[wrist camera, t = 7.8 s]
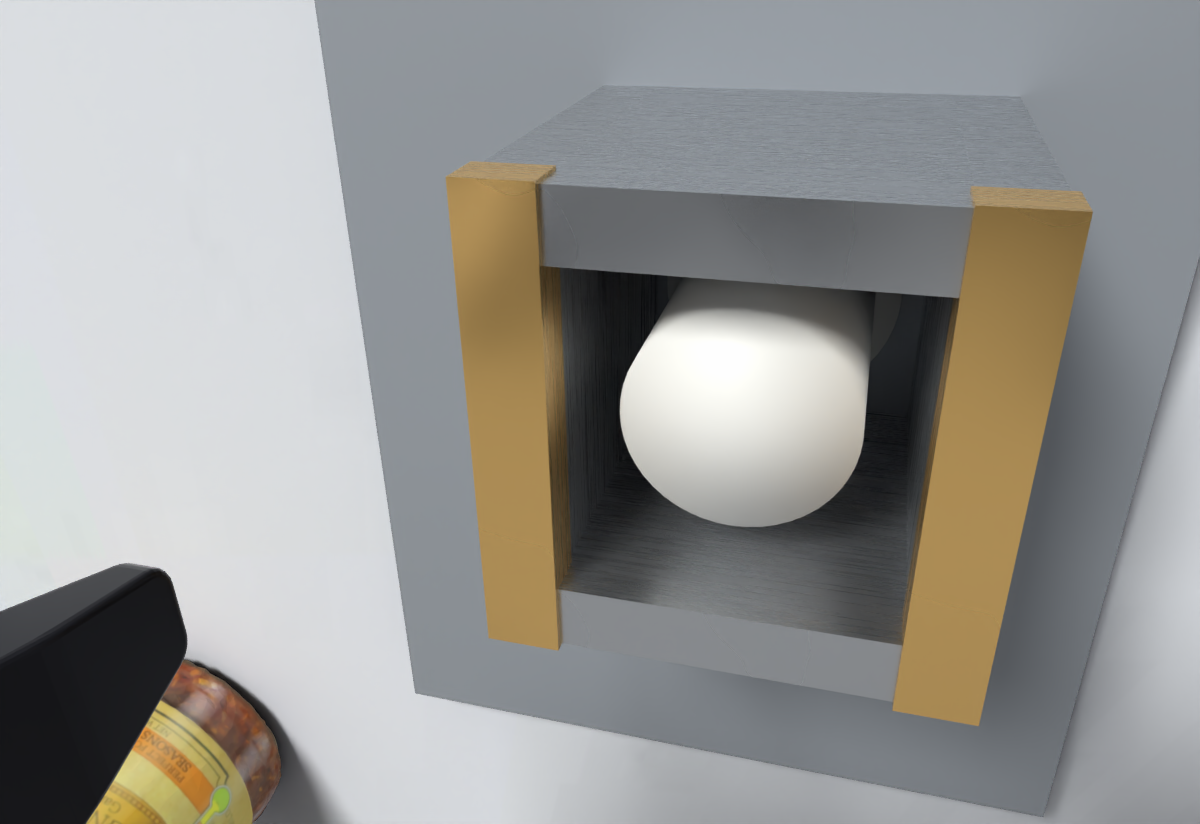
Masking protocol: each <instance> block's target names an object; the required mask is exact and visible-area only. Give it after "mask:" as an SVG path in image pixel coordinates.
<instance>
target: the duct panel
mask: <svg viewBox="0 0 1200 824" xmlns="http://www.w3.org/2000/svg"><path fill="white" fill-rule="evenodd" d="M315 7H316V14H317V21H318V28H319V35H320V42H321V48H322V55H323V62H324V69H325V76H326V83H327V90H328V97H329V103H330V110H331V117H332V124H333V131H334V138H335V145H336V152H337V158H338V165H339V172H340V179H341V186H342V193H343V200H344V207H345V213H346V220H347V227H348V234H349V241H350V248H351V255H352V262H353V268H354V275H355V282H356V289H357V296H358V303H359V310H360V317H361V323H362V330H363V337H364V344H365V351H366V358H367V365H368V371H369V378H370V385H371V392H372V399H373V406H374V413H375V420H376V426H377V433H378V440H379V447H380V454H381V461H382V468H383V475H384V481H385V488H386V495H387V502H388V509H389V516H390V523H391V530H392V536H393V543H394V550H395V557H396V564H397V571H398V578H399V585H400V591H401V598H402V605H403V612H404V619H405V626H406V633H407V640H408V646H409V653H410V660H411V667H412V674H413V681H414V688H415V693H417V694H422V695H427V696H432V697H437V698H442V699H447V700H452V701H457V702H462V703H468V704H473V705H478V706H483V707H488V708H493V709H498V710H503V711H508V712H513V713H518V714H523V715H528V716H533V717H538V718H544V719H549V720H554V721H559V722H564V723H569V724H574V725H579V726H584V727H589V728H594V729H599V730H604V731H609V732H614V733H619V734H625V735H630V736H635V737H640V738H645V739H650V740H655V741H660V742H665V743H670V744H675V745H680V746H685V747H690V748H695V749H701V750H706V751H711V752H716V753H721V754H726V755H731V756H736V757H741V758H746V759H751V760H756V761H761V762H766V763H771V764H777V765H782V766H787V767H792V768H797V769H802V770H807V771H812V772H817V773H822V774H827V775H832V776H837V777H842V778H847V779H853V780H858V781H863V782H868V783H873V784H878V785H883V786H888V787H893V788H898V789H903V790H908V791H913V792H918V793H923V794H929V795H934V796H939V797H944V798H949V799H954V800H959V801H964V802H969V803H974V804H979V805H984V806H989V807H994V808H999V809H1005V810H1010V811H1015V812H1020V813H1025V814H1030V815H1035V816H1040V817H1044V813H1045V809H1046V806H1047V802H1048V799H1049V795H1050V791H1051V788H1052V784H1053V781H1054V777H1055V774H1056V770H1057V766H1058V763H1059V759H1060V756H1061V752H1062V748H1063V745H1064V741H1065V738H1066V734H1067V730H1068V727H1069V723H1070V720H1071V716H1072V713H1073V709H1074V705H1075V702H1076V698H1077V695H1078V691H1079V687H1080V684H1081V680H1082V677H1083V673H1084V670H1085V666H1086V662H1087V659H1088V655H1089V652H1090V648H1091V644H1092V641H1093V637H1094V634H1095V630H1096V627H1097V623H1098V619H1099V616H1100V612H1101V609H1102V605H1103V601H1104V598H1105V594H1106V591H1107V587H1108V583H1109V580H1110V576H1111V573H1112V569H1113V566H1114V562H1115V558H1116V555H1117V551H1118V548H1119V544H1120V540H1121V537H1122V533H1123V530H1124V526H1125V523H1126V519H1127V515H1128V512H1129V508H1130V505H1131V501H1132V497H1133V494H1134V490H1135V487H1136V483H1137V480H1138V476H1139V472H1140V469H1141V465H1142V462H1143V458H1144V454H1145V451H1146V447H1147V444H1148V440H1149V436H1150V433H1151V429H1152V426H1153V422H1154V419H1155V415H1156V411H1157V408H1158V404H1159V401H1160V397H1161V393H1162V390H1163V386H1164V383H1165V379H1166V376H1167V372H1168V368H1169V365H1170V361H1171V358H1172V354H1173V350H1174V347H1175V343H1176V340H1177V336H1178V333H1179V329H1180V325H1181V322H1182V318H1183V315H1184V311H1185V307H1186V304H1187V300H1188V297H1189V293H1190V289H1191V286H1192V282H1193V279H1194V275H1195V272H1196V268H1197V264H1198V261H1199V257H1200V0H315ZM603 85H619V86H655V87H692V88H728V89H764V90H800V91H836V92H873V93H909V94H945V95H981V96H1017V97H1021V99H1022V101H1023V103H1024V105H1025V106H1026V108H1027V110H1028V112H1029V114H1030V116H1031V117H1032V119H1033V121H1034V123H1035V125H1036V127H1037V128H1038V130H1039V132H1040V134H1041V136H1042V138H1043V139H1044V141H1045V143H1046V145H1047V147H1048V149H1049V150H1050V152H1051V154H1052V156H1053V158H1054V159H1055V161H1056V163H1057V165H1058V167H1059V169H1060V170H1061V172H1062V174H1063V176H1064V178H1065V180H1066V181H1067V183H1068V185H1069V187H1070V189H1071V191H1081V192H1082V193H1083V195H1084V197H1085V199H1086V200H1087V202H1088V204H1089V206H1090V207H1091V209H1092V211H1093V214H1092V219H1091V223H1090V228H1089V232H1088V237H1087V241H1086V246H1085V250H1084V255H1083V259H1082V264H1081V268H1080V273H1079V277H1078V282H1077V286H1076V291H1075V295H1074V300H1073V304H1072V309H1071V313H1070V318H1069V322H1068V327H1067V331H1066V336H1065V340H1064V345H1063V349H1062V354H1061V358H1060V363H1059V367H1058V372H1057V376H1056V381H1055V385H1054V390H1053V394H1052V399H1051V403H1050V408H1049V412H1048V417H1047V421H1046V426H1045V430H1044V435H1043V439H1042V444H1041V448H1040V453H1039V457H1038V462H1037V466H1036V471H1035V475H1034V480H1033V484H1032V489H1031V493H1030V498H1029V502H1028V507H1027V511H1026V516H1025V520H1024V525H1023V529H1022V534H1021V538H1020V543H1019V547H1018V552H1017V556H1016V561H1015V565H1014V570H1013V574H1012V579H1011V583H1010V588H1009V592H1008V597H1007V601H1006V606H1005V610H1004V615H1003V619H1002V624H1001V628H1000V633H999V637H998V642H997V646H996V651H995V655H994V660H993V664H992V669H991V673H990V678H989V682H988V687H987V691H986V696H985V700H984V705H983V709H982V714H981V718H980V723H979V726H975V725H969V724H963V723H958V722H952V721H947V720H941V719H936V718H930V717H924V716H919V715H913V714H908V713H902V712H897V711H892V703H893V702H891V701H885V700H879V699H874V698H868V697H862V696H857V695H851V694H845V693H840V692H834V691H829V690H823V689H817V688H812V687H806V686H800V685H795V684H789V683H783V682H778V681H772V680H767V679H761V678H755V677H750V676H744V675H738V674H733V673H727V672H721V671H716V670H710V669H705V668H699V667H693V666H688V665H682V664H676V663H671V662H665V661H659V660H654V659H648V658H642V657H637V656H631V655H626V654H620V653H614V652H609V651H603V650H597V649H592V648H586V647H580V646H575V645H569V644H564V643H562V644H561V646H560V649H559V651H557V650H551V649H546V648H540V647H535V646H529V645H524V644H518V643H512V642H507V641H501V640H496V639H490V638H489V637H488V627H487V616H486V605H485V595H484V584H483V573H482V562H481V552H480V541H479V530H478V520H477V509H476V498H475V487H474V477H473V466H472V455H471V445H470V434H469V423H468V413H467V402H466V391H465V380H464V370H463V359H462V348H461V338H460V327H459V316H458V306H457V295H456V284H455V273H454V263H453V252H452V241H451V231H450V220H449V209H448V199H447V188H446V176H447V175H449V174H451V173H452V172H454V171H456V170H457V169H459V168H460V167H462V166H464V165H465V164H467V163H469V162H470V161H477V162H482V161H484V160H485V159H487V158H489V157H490V156H492V155H493V154H495V153H497V152H498V151H500V150H501V149H503V148H505V147H506V146H508V145H509V144H511V143H513V142H514V141H516V140H517V139H519V138H520V137H522V136H524V135H525V134H527V133H528V132H530V131H532V130H533V129H535V128H536V127H538V126H540V125H541V124H543V123H544V122H546V121H548V120H549V119H551V118H552V117H554V116H555V115H557V114H559V113H560V112H562V111H563V110H565V109H567V108H568V107H570V106H571V105H573V104H575V103H576V102H578V101H579V100H581V99H583V98H584V97H586V96H587V95H589V94H590V93H592V92H594V91H595V90H597V89H598V88H600V87H602V86H603ZM924 298H925V295H912V294H899V293H885V292H872V291H859V290H846V289H833V288H820V287H807V286H794V285H781V284H768V283H755V282H742V281H729V280H716V279H703V278H690V277H677V276H664V275H657V322H656V324H655V326H654V327H653V329H652V331H651V332H650V334H649V336H648V338H647V339H646V341H645V343H644V344H643V346H642V348H641V349H640V351H639V353H638V355H637V356H636V358H635V360H634V362H633V363H632V365H631V367H630V369H629V371H628V373H627V376H626V378H625V381H624V384H623V388H622V393H621V399H620V420H621V428H622V432H623V436H624V440H625V443H626V445H627V448H628V451H629V453H630V455H631V457H632V459H633V460H634V462H635V464H636V466H637V467H638V469H639V470H640V471H641V473H642V474H643V476H644V477H645V478H646V479H647V480H648V481H649V483H650V484H651V485H652V486H653V487H654V488H655V489H656V490H657V491H659V492H660V493H661V494H662V495H663V496H664V497H665V498H667V499H668V500H670V501H671V502H672V503H674V504H675V505H677V506H679V507H680V508H682V509H684V510H686V511H687V512H689V513H692V514H694V515H696V516H699V517H701V518H703V519H707V520H710V521H713V522H716V523H721V524H726V525H731V526H741V527H764V526H771V525H778V524H782V523H786V522H789V521H793V520H795V519H798V518H800V517H803V516H806V515H807V514H809V513H811V512H813V511H815V510H816V509H818V508H820V507H821V506H822V505H824V504H825V503H826V502H828V501H829V500H830V499H831V498H833V497H834V496H835V495H836V494H837V493H838V492H839V491H840V490H841V488H842V487H843V486H844V484H845V483H846V482H847V481H848V479H849V478H850V476H851V474H852V472H853V470H854V469H855V467H856V464H857V462H858V459H859V456H860V454H861V449H862V444H863V439H864V429H865V417H866V411H869V412H879V413H888V414H897V415H908V408H909V401H910V394H911V387H912V380H913V373H914V367H915V360H916V353H917V346H918V339H919V332H920V325H921V319H922V312H923V305H924Z"/></svg>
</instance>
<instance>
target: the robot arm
mask: <svg viewBox="0 0 1200 824" xmlns="http://www.w3.org/2000/svg"><path fill="white" fill-rule="evenodd" d="M186 649H187V633H186V629H185V626H184V622H183V618H182V615H181V611H180V608H179V604H178V601H177V597H176V593H175V590H174V586H173V583H172V580H171V578H170V577H169V575H168V574H167V573H166V572H165V571H163V570H161V569H159V568H155V567H149V566H143V565H137V564H130V563H125V564H119V565H116V566H113V567H111V568H108V569H106V570H103V571H101V572H98V573H96V574H93V575H91V576H88V577H85V578H83V579H80V580H78V581H75V582H73V583H70V584H68V585H65V586H63V587H60V588H58V589H55V590H53V591H50V592H48V593H45V594H43V595H40V596H38V597H35V598H33V599H30V600H28V601H25V602H23V603H20V604H18V605H15V606H13V607H10V608H8V609H5V610H3V611H0V824H86V823H87V822H88V820H89V819H90V817H91V816H92V814H93V813H94V811H95V810H96V808H97V807H98V805H99V804H100V802H101V800H102V799H103V797H104V796H105V794H106V792H107V791H108V789H109V787H110V786H111V784H112V783H113V781H114V779H115V777H116V776H117V774H118V772H119V771H120V769H121V767H122V765H123V764H124V762H125V760H126V759H127V757H128V755H129V753H130V752H131V750H132V748H133V747H134V745H135V743H136V741H137V740H138V738H139V736H140V735H141V733H142V731H143V729H144V728H145V726H146V724H147V723H148V721H149V719H150V717H151V716H152V714H153V712H154V711H155V709H156V707H157V705H158V704H159V702H160V700H161V698H162V697H163V695H164V693H165V692H166V690H167V688H168V686H169V685H170V683H171V681H172V680H173V678H174V676H175V674H176V673H177V671H178V669H179V668H180V666H181V664H182V662H183V660H184V657H185V654H186Z"/></svg>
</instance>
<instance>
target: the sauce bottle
mask: <svg viewBox="0 0 1200 824" xmlns="http://www.w3.org/2000/svg"><path fill="white" fill-rule="evenodd" d="M280 769H281V759H280V755H279V752H278V746H277V742H276V739H275V737H274V735H273V733H272V731H271V730H270V728H269V727H268V726H267V725H266V723H265V720H263V719H262V718H261V717H260V716H259V715H258V713H257V712H256V711H255V709H254V708H253V707H252V706H251V704H250V703H249V702H247V701H246V700H245V699H244V698H242V696H241V695H240V694H239V693H238V692H237V691H235V690H234V689H233V688H232V687H231V686H230V685H228V684H227V683H226V682H225V681H224V680H222V679H220V678H218V677H216V676H214V675H212V674H210V673H209V672H208V670H207V669H205V668H202V667H198V666H196V665H195V664H193V663H192V662H191V661H188V660H183V662H182V664H181V666H180V668H179V669H178V671H177V673H176V674H175V676H174V678H173V680H172V681H171V683H170V685H169V686H168V688H167V690H166V692H165V693H164V695H163V697H162V698H161V700H160V702H159V704H158V705H157V707H156V709H155V711H154V712H153V714H152V716H151V717H150V719H149V721H148V723H147V724H146V726H145V728H144V729H143V731H142V733H141V735H140V736H139V738H138V740H137V741H136V743H135V745H134V747H133V748H132V750H131V752H130V753H129V755H128V757H127V759H126V760H125V762H124V764H123V765H122V767H121V769H120V771H119V772H118V774H117V776H116V777H115V779H114V781H113V783H112V784H111V786H110V787H109V789H108V791H107V792H106V794H105V796H104V797H103V799H102V800H101V802H100V804H99V805H98V807H97V808H96V810H95V811H94V813H93V814H92V816H91V817H90V819H89V820H88V822H87V823H86V824H252V823H253V822H254V821H256V819H257V818H258V817H259V816H260V815H261V814H262V813H263V811H264V809H265V808H266V805H267V804H268V802H269V801H270V800H271V798H272V795H273V794H274V792H275V789H276V787H277V786H278V784H279V781H280V778H281V771H280Z"/></svg>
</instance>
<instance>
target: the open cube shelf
mask: <svg viewBox="0 0 1200 824" xmlns="http://www.w3.org/2000/svg"><path fill="white" fill-rule="evenodd" d="M446 188H447V199H448V209H449V220H450V231H451V241H452V252H453V263H454V273H455V284H456V295H457V306H458V316H459V327H460V338H461V348H462V359H463V370H464V380H465V391H466V402H467V413H468V423H469V434H470V445H471V455H472V466H473V477H474V487H475V498H476V509H477V520H478V530H479V541H480V552H481V562H482V573H483V584H484V595H485V605H486V616H487V627H488V637H489V638H490V639H496V640H501V641H507V642H512V643H518V644H524V645H529V646H535V647H540V648H546V649H551V650H557V651H559V649H560V646H561V644H562V643H564V644H569V645H575V646H580V647H586V648H592V649H597V650H603V651H609V652H614V653H620V654H626V655H631V656H637V657H642V658H648V659H654V660H659V661H665V662H671V663H676V664H682V665H688V666H693V667H699V668H705V669H710V670H716V671H721V672H727V673H733V674H738V675H744V676H750V677H755V678H761V679H767V680H772V681H778V682H783V683H789V684H795V685H800V686H806V687H812V688H817V689H823V690H829V691H834V692H840V693H845V694H851V695H857V696H862V697H868V698H874V699H879V700H885V701H891V702H893V703H892V711H897V712H902V713H908V714H913V715H919V716H924V717H930V718H936V719H941V720H947V721H952V722H958V723H963V724H969V725H975V726H979V723H980V718H981V714H982V709H983V705H984V700H985V696H986V691H987V687H988V682H989V678H990V673H991V669H992V664H993V660H994V655H995V651H996V646H997V642H998V637H999V633H1000V628H1001V624H1002V619H1003V615H1004V610H1005V606H1006V601H1007V597H1008V592H1009V588H1010V583H1011V579H1012V574H1013V570H1014V565H1015V561H1016V556H1017V552H1018V547H1019V543H1020V538H1021V534H1022V529H1023V525H1024V520H1025V516H1026V511H1027V507H1028V502H1029V498H1030V493H1031V489H1032V484H1033V480H1034V475H1035V471H1036V466H1037V462H1038V457H1039V453H1040V448H1041V444H1042V439H1043V435H1044V430H1045V426H1046V421H1047V417H1048V412H1049V408H1050V403H1051V399H1052V394H1053V390H1054V385H1055V381H1056V376H1057V372H1058V367H1059V363H1060V358H1061V354H1062V349H1063V345H1064V340H1065V336H1066V331H1067V327H1068V322H1069V318H1070V313H1071V309H1072V304H1073V300H1074V295H1075V291H1076V286H1077V282H1078V277H1079V273H1080V268H1081V264H1082V259H1083V255H1084V250H1085V246H1086V241H1087V237H1088V232H1089V228H1090V223H1091V219H1092V214H1093V211H1092V209H1091V207H1090V206H1089V204H1088V202H1087V200H1086V199H1085V197H1084V195H1083V193H1082V192H1081V191H1071V189H1070V187H1069V185H1068V183H1067V181H1066V180H1065V178H1064V176H1063V174H1062V172H1061V170H1060V169H1059V167H1058V165H1057V163H1056V161H1055V159H1054V158H1053V156H1052V154H1051V152H1050V150H1049V149H1048V147H1047V145H1046V143H1045V141H1044V139H1043V138H1042V136H1041V134H1040V132H1039V130H1038V128H1037V127H1036V125H1035V123H1034V121H1033V119H1032V117H1031V116H1030V114H1029V112H1028V110H1027V108H1026V106H1025V105H1024V103H1023V101H1022V99H1021V97H1017V96H981V95H945V94H909V93H873V92H836V91H800V90H764V89H728V88H692V87H655V86H619V85H603V86H602V87H600V88H598V89H597V90H595V91H594V92H592V93H590V94H589V95H587V96H586V97H584V98H583V99H581V100H579V101H578V102H576V103H575V104H573V105H571V106H570V107H568V108H567V109H565V110H563V111H562V112H560V113H559V114H557V115H555V116H554V117H552V118H551V119H549V120H548V121H546V122H544V123H543V124H541V125H540V126H538V127H536V128H535V129H533V130H532V131H530V132H528V133H527V134H525V135H524V136H522V137H520V138H519V139H517V140H516V141H514V142H513V143H511V144H509V145H508V146H506V147H505V148H503V149H501V150H500V151H498V152H497V153H495V154H493V155H492V156H490V157H489V158H487V159H485V160H484V161H482V162H477V161H470V162H469V163H467V164H465V165H464V166H462V167H460V168H459V169H457V170H456V171H454V172H452V173H451V174H449V175H447V176H446ZM657 275H664V276H677V277H690V278H703V279H716V280H729V281H742V282H755V283H768V284H781V285H794V286H807V287H820V288H833V289H846V290H859V291H872V292H885V293H899V294H912V295H925V298H924V305H923V312H922V319H921V325H920V332H919V339H918V346H917V353H916V360H915V367H914V373H913V380H912V387H911V394H910V401H909V408H908V415H897V414H888V413H879V412H869V411H866V417H865V429H864V439H863V444H862V449H861V454H860V456H859V459H858V462H857V464H856V467H855V469H854V470H853V472H852V474H851V476H850V478H849V479H848V481H847V482H846V483H845V484H844V486H843V487H842V488H841V490H840V491H839V492H838V493H837V494H836V495H835V496H834V497H833V498H831V499H830V500H829V501H828V502H826V503H825V504H824V505H822V506H821V507H820V508H818V509H816V510H815V511H813V512H811V513H809V514H807V515H806V516H803V517H800V518H798V519H795V520H793V521H789V522H786V523H782V524H778V525H771V526H764V527H741V526H731V525H726V524H721V523H716V522H713V521H710V520H707V519H703V518H701V517H699V516H696V515H694V514H692V513H689V512H687V511H686V510H684V509H682V508H680V507H679V506H677V505H675V504H674V503H672V502H671V501H670V500H668V499H667V498H665V497H664V496H663V495H662V494H661V493H660V492H659V491H657V490H656V489H655V488H654V487H653V486H652V485H651V484H650V483H649V481H648V480H647V479H646V478H645V477H644V476H643V474H642V473H641V471H640V470H639V469H638V467H637V466H636V464H635V462H634V460H633V459H632V457H631V455H630V453H629V451H628V448H627V445H626V443H625V440H624V436H623V432H622V428H621V420H620V399H621V393H622V388H623V384H624V381H625V378H626V376H627V373H628V371H629V369H630V367H631V365H632V363H633V362H634V360H635V358H636V356H637V355H638V353H639V351H640V349H641V348H642V346H643V344H644V343H645V341H646V339H647V338H648V336H649V334H650V332H651V331H652V329H653V327H654V326H655V324H656V322H657Z"/></svg>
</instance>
